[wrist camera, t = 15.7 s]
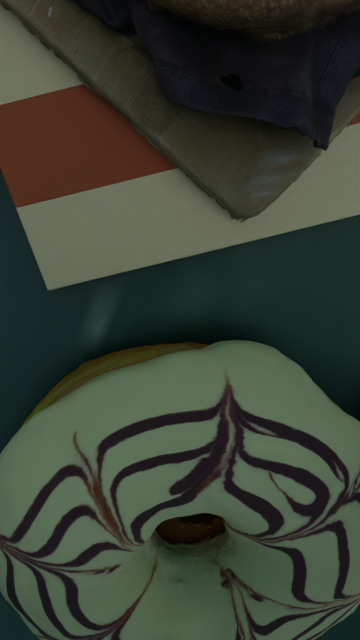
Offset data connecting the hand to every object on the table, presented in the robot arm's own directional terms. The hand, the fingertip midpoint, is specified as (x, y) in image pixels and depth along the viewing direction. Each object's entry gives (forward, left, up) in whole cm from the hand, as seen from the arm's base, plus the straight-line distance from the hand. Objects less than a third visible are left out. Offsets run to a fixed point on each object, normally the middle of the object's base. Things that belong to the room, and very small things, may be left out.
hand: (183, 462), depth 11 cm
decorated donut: (0, 0, 0) cm, 0 cm away
